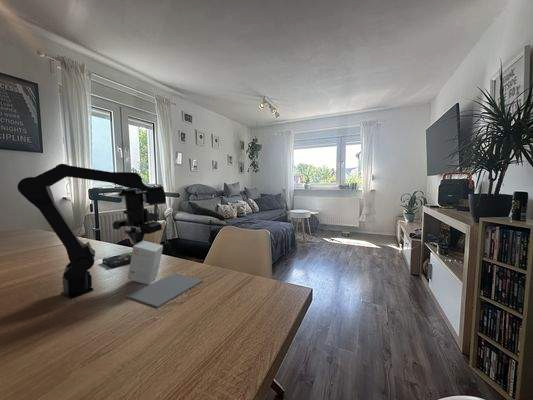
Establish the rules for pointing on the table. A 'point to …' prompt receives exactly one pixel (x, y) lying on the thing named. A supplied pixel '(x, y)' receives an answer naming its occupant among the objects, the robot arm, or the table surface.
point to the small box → (145, 262)
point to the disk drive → (118, 260)
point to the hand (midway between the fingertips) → (139, 247)
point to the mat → (164, 290)
